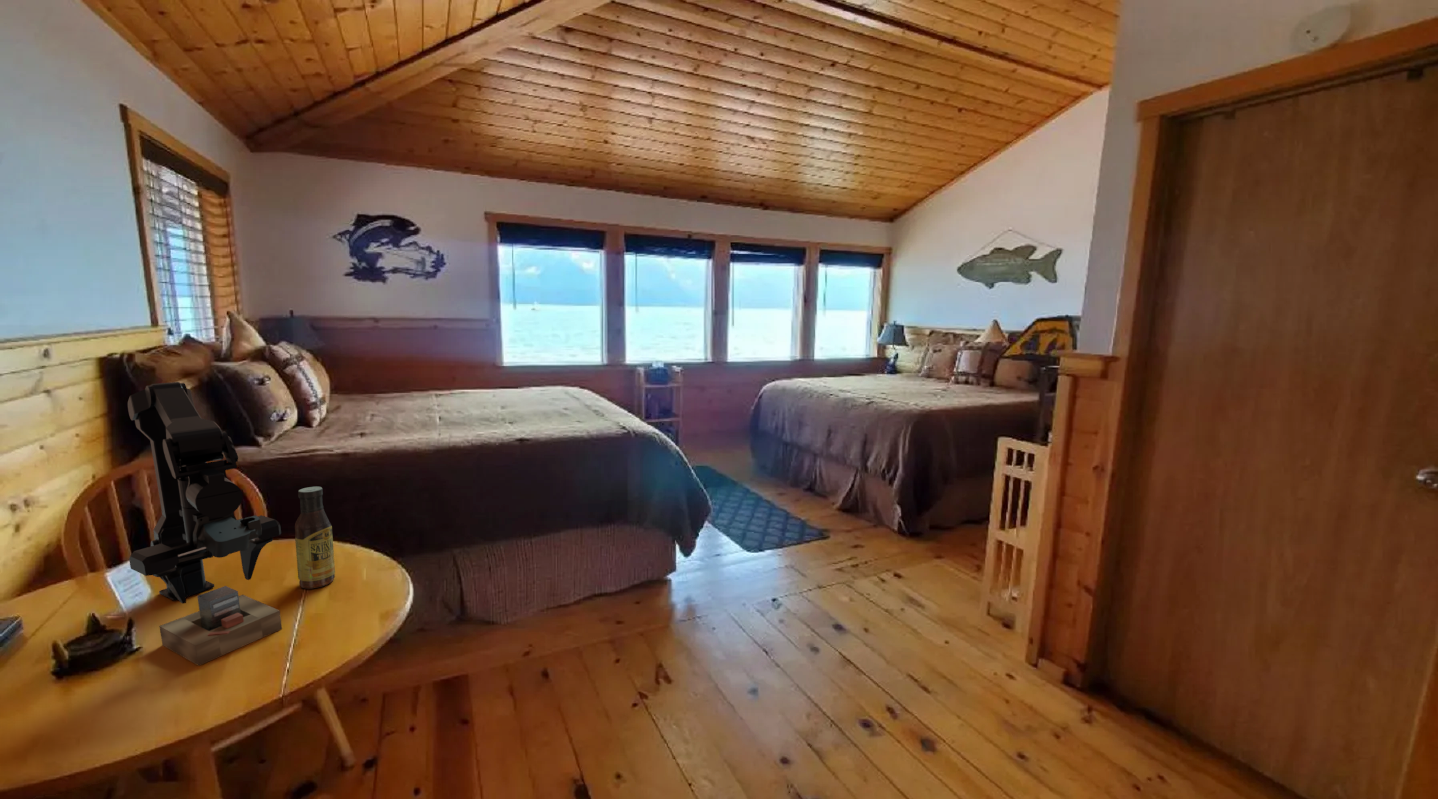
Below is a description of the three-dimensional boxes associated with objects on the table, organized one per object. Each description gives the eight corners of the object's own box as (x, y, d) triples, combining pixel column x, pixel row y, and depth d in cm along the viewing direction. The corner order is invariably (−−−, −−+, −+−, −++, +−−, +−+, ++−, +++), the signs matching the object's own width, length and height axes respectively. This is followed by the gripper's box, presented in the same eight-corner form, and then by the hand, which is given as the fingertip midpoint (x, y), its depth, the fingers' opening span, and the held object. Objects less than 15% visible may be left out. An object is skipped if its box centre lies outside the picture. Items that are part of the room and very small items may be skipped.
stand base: (162, 645, 99) (158, 619, 98) (245, 612, 110) (242, 588, 109) (200, 666, 94) (196, 639, 93) (283, 629, 104) (280, 605, 103)
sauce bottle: (317, 592, 118) (307, 496, 114) (291, 588, 119) (280, 493, 115) (344, 577, 124) (335, 485, 120) (319, 574, 125) (309, 483, 122)
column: (202, 639, 101) (196, 595, 100) (230, 627, 105) (224, 585, 103) (216, 646, 99) (210, 602, 98) (244, 634, 103) (238, 591, 101)
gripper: (155, 531, 86) (170, 629, 89) (294, 494, 103) (303, 578, 105) (120, 517, 91) (136, 611, 94) (258, 484, 107) (268, 565, 110)
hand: (217, 590), depth 101 cm, fingers open, 9 cm apart
